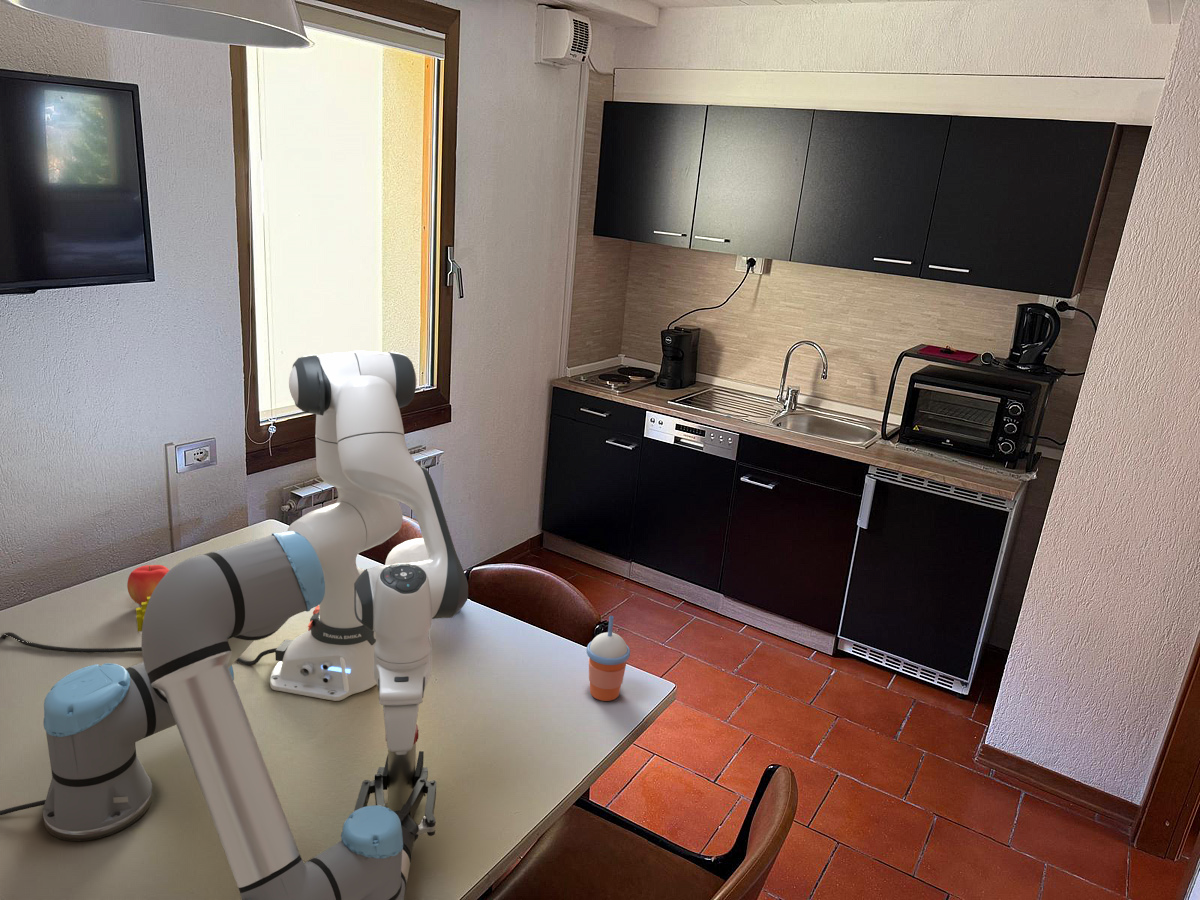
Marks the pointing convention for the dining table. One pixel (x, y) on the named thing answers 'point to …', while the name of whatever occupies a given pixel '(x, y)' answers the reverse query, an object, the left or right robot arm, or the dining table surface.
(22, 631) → the dining table surface
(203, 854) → the dining table surface
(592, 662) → the cup with straw
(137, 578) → the apple
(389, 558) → the skull
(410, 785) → the jar
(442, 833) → the dining table surface
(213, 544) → the dining table surface
